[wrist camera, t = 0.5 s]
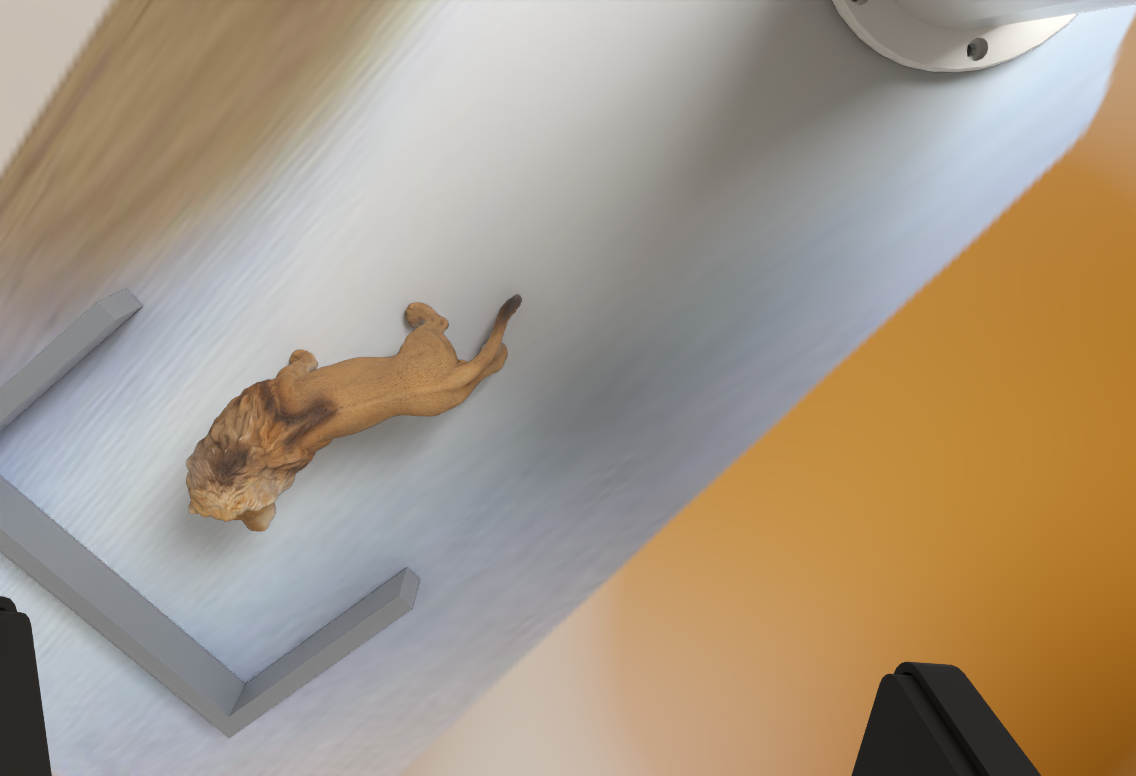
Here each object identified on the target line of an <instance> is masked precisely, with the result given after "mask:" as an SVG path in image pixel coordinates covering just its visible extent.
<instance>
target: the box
mask: <svg viewBox="0 0 1136 776" xmlns="http://www.w3.org/2000/svg"><path fill="white" fill-rule="evenodd" d="M142 306H143V305H142V304H141V303H140V302H139V301H138V300H137V299H136V298H135V297H134V296H133V295H132V294H131V293H130V292H129V291H128V290H127V289H125V290H122V291H120V292H118V293H116V294H114V295H111V296H109V297H107V298H105V299H103V300H100V301H98V302H96V303H95V304H94V305H93V306H92V307H91V308H90V309H89V310H88V311H86V312H85V313H84V314H83V315H82V316H81V317H80V318H79V319H78V320H76V321H75V322H74V323H73V324H72V325H71V326H70V327H69V328H68V329H66V330H65V331H64V332H63V333H62V334H61V335H60V336H59V337H58V338H56V339H55V340H54V341H53V342H52V343H51V344H50V345H49V346H48V347H46V348H45V349H44V350H43V351H42V352H41V353H40V354H39V355H38V356H36V357H35V358H34V359H33V360H32V361H31V362H30V363H29V364H28V365H26V366H25V367H24V368H23V369H22V370H21V371H20V372H19V373H18V374H16V375H15V376H14V377H13V378H12V379H11V380H10V381H9V382H8V383H6V384H5V385H4V386H3V387H2V388H1V389H0V432H1V431H2V430H3V429H4V428H5V427H6V426H7V425H9V424H10V423H11V422H12V421H13V420H14V419H15V418H16V417H18V416H19V415H20V414H21V413H22V412H23V411H24V410H26V409H27V408H28V407H29V406H30V405H31V404H32V403H33V402H35V401H36V400H37V399H38V398H39V397H40V396H41V395H42V394H44V393H45V392H46V391H47V390H48V389H49V388H50V387H52V386H53V385H54V384H55V383H56V382H57V381H58V380H59V379H61V378H62V377H63V376H64V375H65V374H66V373H67V372H69V371H70V370H71V369H72V368H73V367H74V366H75V365H76V364H78V363H79V362H80V361H81V360H82V359H83V358H84V357H86V356H87V355H88V354H89V353H90V352H91V351H92V350H93V349H95V348H96V347H97V346H98V345H99V344H100V343H101V342H102V341H104V340H105V339H106V338H107V337H108V336H109V335H110V334H112V333H113V332H114V331H115V330H116V329H117V328H118V327H119V326H121V325H122V324H123V323H124V322H125V321H126V320H127V319H129V318H130V317H131V316H132V315H133V314H134V313H135V312H136V311H138V310H139V309H140V308H141V307H142ZM0 552H1V553H3V554H4V555H5V556H6V557H8V558H9V559H10V560H11V561H12V562H14V563H15V564H16V565H17V566H19V567H20V568H21V569H22V570H23V571H25V572H26V573H27V574H28V575H30V576H31V577H32V578H33V579H34V580H36V581H37V582H38V583H39V584H41V585H42V586H43V587H44V588H46V589H47V590H48V591H49V592H50V593H52V594H53V595H54V596H55V597H57V598H58V599H59V600H60V601H61V602H63V603H64V604H65V605H66V606H68V607H69V608H70V609H71V610H73V611H74V612H75V613H76V614H77V615H79V616H80V617H81V618H82V619H84V620H85V621H86V622H87V623H88V624H90V625H91V626H92V627H93V628H95V629H96V630H97V631H98V632H99V633H101V634H102V635H103V636H104V637H106V638H107V639H108V640H109V641H111V642H112V643H113V644H114V645H115V646H117V647H118V648H119V649H120V650H122V651H123V652H124V653H125V654H126V655H128V656H129V657H130V658H131V659H133V660H134V661H135V662H136V663H138V664H139V665H140V666H141V667H142V668H144V669H145V670H146V671H147V672H149V673H150V674H151V675H152V676H153V677H155V678H156V679H157V680H158V681H160V682H161V683H162V684H163V685H164V686H166V687H167V688H168V689H169V690H171V691H172V692H173V693H174V694H176V695H177V696H178V697H179V698H180V699H182V700H183V701H184V702H185V703H187V704H188V705H189V706H190V707H191V708H193V709H194V710H195V711H196V712H198V713H199V714H200V715H201V716H202V717H204V718H205V719H206V720H207V721H209V722H210V723H211V724H212V725H214V726H215V727H216V728H217V729H218V730H220V731H221V732H222V733H223V734H225V735H226V736H227V737H228V738H230V737H232V736H233V735H234V734H236V733H237V732H239V731H240V730H241V729H243V728H244V727H246V726H247V725H249V724H250V723H251V722H253V721H254V720H256V719H257V718H258V717H260V716H261V715H263V714H264V713H266V712H267V711H268V710H270V709H271V708H273V707H274V706H275V705H277V704H278V703H280V702H281V701H283V700H284V699H285V698H287V697H288V696H290V695H291V694H292V693H294V692H295V691H297V690H298V689H299V688H301V687H302V686H304V685H305V684H307V683H308V682H309V681H311V680H312V679H314V678H315V677H316V676H318V675H319V674H321V673H322V672H324V671H325V670H326V669H328V668H329V667H331V666H332V665H333V664H335V663H336V662H338V661H339V660H341V659H342V658H343V657H345V656H346V655H348V654H349V653H350V652H352V651H353V650H355V649H356V648H357V647H359V646H360V645H362V644H363V643H365V642H366V641H367V640H369V639H370V638H372V637H373V636H374V635H376V634H377V633H379V632H380V631H382V630H383V629H384V628H386V627H387V626H389V625H390V624H391V623H393V622H394V621H396V620H397V619H398V618H400V617H401V616H403V615H404V614H406V613H407V612H408V611H410V610H411V609H413V605H414V601H415V597H416V594H417V590H418V586H419V582H420V579H419V578H418V577H417V576H416V575H415V574H414V573H413V572H412V571H411V570H410V569H409V568H408V567H407V568H405V569H404V570H403V571H401V572H400V573H398V574H397V575H396V576H394V577H393V578H391V579H390V580H389V581H387V582H386V583H385V584H383V585H382V586H380V587H379V588H378V589H376V590H375V591H373V592H372V593H371V594H369V595H368V596H367V597H365V598H364V599H362V600H361V601H360V602H358V603H357V604H355V605H354V606H353V607H351V608H350V609H349V610H347V611H346V612H344V613H343V614H342V615H340V616H339V617H337V618H336V619H335V620H333V621H332V622H331V623H329V624H328V625H326V626H325V627H324V628H322V629H321V630H319V631H318V632H317V633H315V634H314V635H313V636H311V637H310V638H308V639H307V640H306V641H304V642H303V643H301V644H300V645H299V646H297V647H296V648H295V649H293V650H292V651H290V652H289V653H288V654H286V655H285V656H283V657H282V658H281V659H279V660H278V661H276V662H275V663H274V664H272V665H271V666H270V667H268V668H267V669H265V670H264V671H263V672H261V673H260V674H258V675H257V676H256V677H254V678H253V679H252V680H250V681H249V682H247V683H246V684H245V683H244V682H243V681H241V680H240V679H239V678H238V677H237V676H236V675H234V674H233V673H232V672H231V671H230V670H229V669H227V668H226V667H225V666H224V665H223V664H221V663H220V662H219V661H218V660H217V659H216V658H214V657H213V656H212V655H211V654H210V653H209V652H207V651H206V650H205V649H204V648H203V647H201V646H200V645H199V644H198V643H197V642H196V641H194V640H193V639H192V638H191V637H190V636H189V635H187V634H186V633H185V632H184V631H183V630H181V629H180V628H179V627H178V626H177V625H176V624H174V623H173V622H172V621H171V620H170V619H169V618H167V617H166V616H165V615H164V614H163V613H161V612H160V611H159V610H158V609H157V608H156V607H154V606H153V605H152V604H151V603H150V602H149V601H147V600H146V599H145V598H144V597H143V596H141V595H140V594H139V593H138V592H137V591H136V590H134V589H133V588H132V587H131V586H130V585H129V584H127V583H126V582H125V581H124V580H123V579H121V578H120V577H119V576H118V575H117V574H116V573H114V572H113V571H112V570H111V569H110V568H109V567H107V566H106V565H105V564H104V563H103V562H101V561H100V560H99V559H98V558H97V557H96V556H94V555H93V554H92V553H91V552H90V551H88V550H87V549H86V548H85V547H84V546H83V545H81V544H80V543H79V542H78V541H77V540H76V539H74V538H73V537H72V536H71V535H70V534H68V533H67V532H66V531H65V530H64V529H63V528H61V527H60V526H59V525H58V524H57V523H56V522H54V521H53V520H52V519H51V518H50V517H48V516H47V515H46V514H45V513H44V512H43V511H41V510H40V509H39V508H38V507H37V506H36V505H34V504H33V503H32V502H31V501H30V500H28V499H27V498H26V497H25V496H24V495H23V494H21V493H20V492H19V491H18V490H17V489H16V488H14V487H13V486H12V485H11V484H10V483H8V482H7V481H6V480H5V479H4V478H3V477H1V476H0Z"/></svg>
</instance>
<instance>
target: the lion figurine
mask: <svg viewBox="0 0 1136 776" xmlns="http://www.w3.org/2000/svg"><path fill="white" fill-rule="evenodd" d="M521 301H522V298H521V296H520V295H519V294H516V295H515V296H513V297H512V298H510V299H509V300H507V301H506V303H505V304H504V305H503V306H502V307H501V309H500V311H499V314H498V317H497V319H496V322H495V325H494V328H493V331H492V334H491V336H490V338H489V339H488V341H487V343H486V344H484V345H483V346H482V347H481V350H480V353H479V354H478V355H477V356H476V357H475V358H474V359H473V360H471V361H470V362H466V361H465V360H458V358H457V355H456V352H455V350H454V348H453V346H452V345H451V343H450V341H449V340H448V339H447V338H446V336H445V335H444V331H445V330H446V329H447V328H448V326H449V324H448V321H447V320H446V319H445V318H443V317H441V316H440V315H438V314H437V313H436V312H435V311H434V310H433V309H432V308H431V307H429V306H428V305H426V304H423V303H412V304H410V305H409V306H408V307H407V309H406V311H405V313H406V319H407V321H408V323H409V325H410V326H411V327H415V328H417V329H415V330H414V331H412V332H411V333H410V334H409V335H408V336H407V337H406V339H405V342H404V344H403V345H402V346H401V348H400V350H399V353H398V354H397V355H395V356H392V357H359V358H353V359H349V360H345V361H342V362H339V363H336V364H333V365H330V366H325V367H322V368H319V369H317V370H316V368H317V366H318V362H317V361H316V359H315V356H314V355H313V354H311V353H309V352H307V351H305V350H297V351H294V352H293V354H292V356H291V357H290V365H288V366H286V367H284V368H283V369H281V370H280V371H279V373H278V375H277V377H276V378H275V379H273V380H265V381H262V382H257V383H255V384H254V385H252V386H250V387H249V388H246V389H244V390H243V392H242V394H241V395H240V396H238V397H235V398H234V399H232V400H231V401H230V402H229V404H228V405H227V407H226V408H225V409H224V410H223V411H222V413H221V414H220V416H218V417H217V418H216V419H215V420H214V423H213V424H212V426H211V428H210V431H209V433H208V435H207V436H206V437H205V438H204V439H202V440H200V441H199V443H198V444H197V446H196V448H195V451H194V453H193V454H192V455H191V456H190V457H189V458H188V459H187V462H186V466H187V468H188V471H189V472H188V474H187V477H186V484H187V486H188V490H189V494H190V498H191V502H190V504H189V513H190V514H199V513H200V515H201V516H203V517H209V516H212V517H213V518H215V519H217V520H223V521H230V520H242V521H243V522H244V524H245V525H246V526H247V528H248V529H250V530H252V531H264V530H266V529H267V528H268V527H269V523H270V521H271V520H272V519H273V518H274V516H275V513H276V507H275V504H274V502H275V501H276V499H277V496H278V495H280V494H281V492H283V491H285V490H287V489H288V488H289V487H290V486H292V484H293V482H294V477H295V474H296V473H297V472H298V471H300V470H302V469H303V468H305V467H306V466H307V465H308V463H309V462H310V461H311V460H312V458H313V456H314V454H315V452H316V451H317V450H319V449H321V448H323V447H325V446H327V445H328V444H329V443H331V441H332V440H333V439H334V438H338V437H342V436H347V435H351V434H354V433H357V432H359V431H362V430H364V429H367V428H369V427H372V426H374V425H376V424H378V423H380V422H382V421H384V420H386V419H388V418H390V417H393V416H398V415H411V416H435V415H439V414H441V413H443V412H445V411H447V410H450V409H452V408H454V407H456V406H457V405H459V404H461V403H462V402H463V401H464V400H465V399H466V398H467V397H468V396H469V395H470V393H471V392H472V390H473V389H474V388H475V387H476V386H477V385H478V383H479V382H480V381H481V380H482V379H484V378H485V377H487V376H489V375H491V374H493V373H496V372H498V371H499V370H500V369H501V368H502V367H503V365H504V362H505V360H506V358H507V354H508V353H507V349H506V346H505V345H504V344H503V343H502V342H501V341H502V337H503V334H504V331H505V328H506V325H507V322H508V320H509V318H510V317H511V315H512V314H514V313H515V312H516V309H517V308H518V307H519V306H520V304H521Z"/></svg>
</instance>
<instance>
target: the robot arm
mask: <svg viewBox="0 0 1136 776" xmlns="http://www.w3.org/2000/svg"><path fill="white" fill-rule="evenodd" d="M832 1H833V3H834V5H835V7H836V9H837V11H838V13H839V14H840V16H841V17H842V18H843V20H844V21H845V22H846V23H847V24H848V26H849V27H850V28H851V29H852V30H853V32H854V33H855V34H856V35H857V37H858V38H860V39H861V40H862V41H864V42H865V43H866V44H867V45H869V46H870V47H871V48H872V49H874V50H875V51H876V52H878V53H879V54H880V55H883V56H885V57H887V58H889V59H891V60H893V61H895V62H897V63H899V64H902V65H904V66H908V67H912V68H917V69H921V70H926V71H930V72H962V71H973V70H980V69H984V68H988V67H991V66H994V65H998V64H1001V63H1004V62H1008V61H1011V60H1013V59H1015V58H1017V57H1019V56H1021V55H1023V54H1025V53H1027V52H1029V51H1031V50H1033V49H1035V48H1037V47H1039V46H1040V45H1042V44H1043V43H1044V42H1046V41H1047V40H1048V39H1050V38H1051V37H1053V36H1054V35H1055V34H1057V33H1058V32H1059V31H1061V30H1062V29H1063V28H1065V27H1066V26H1067V25H1068V24H1069V23H1070V22H1071V21H1072V20H1073V19H1074V18H1075V17H1076V16H1077V15H1078V14H1079V13H1083V12H1089V11H1096V10H1102V9H1108V8H1115V7H1121V6H1127V5H1134V4H1136V0H856V1H855V2H853V1H851V0H832ZM968 44H969V45H970V46H971V49H972V50H971V54H970V55H969V56H967V47H968ZM0 776H52V775H51V767H50V760H49V753H48V745H47V738H46V731H45V723H44V716H43V709H42V701H41V694H40V687H39V679H38V672H37V665H36V657H35V650H34V643H33V635H32V628H31V623H30V619H29V617H28V616H27V615H26V614H24V613H21V612H17V610H16V606H15V604H14V603H13V602H12V600H11V599H9V598H6V597H1V596H0ZM852 776H1041V775H1040V773H1039V772H1038V771H1037V769H1036V768H1035V767H1034V766H1033V764H1032V763H1031V761H1030V760H1029V759H1028V757H1027V756H1026V755H1025V754H1024V752H1023V751H1022V750H1021V748H1020V747H1019V746H1018V744H1017V743H1016V742H1015V740H1014V739H1013V738H1012V736H1011V735H1010V734H1009V732H1008V731H1007V730H1006V728H1005V727H1004V726H1003V724H1002V723H1001V722H1000V720H999V719H998V718H997V716H996V715H995V714H994V712H993V711H992V710H991V708H990V707H989V706H988V704H987V703H986V702H985V700H984V699H983V698H982V696H981V695H980V694H979V693H978V691H977V690H976V688H975V687H974V686H973V684H972V683H971V682H970V680H969V679H968V678H967V677H966V675H965V674H964V673H963V672H962V671H961V670H960V669H959V668H958V667H955V666H953V665H945V664H931V663H916V662H904V663H901V664H900V665H899V666H898V667H897V668H896V670H895V672H894V674H887V675H885V676H884V677H883V678H882V680H881V682H880V685H879V688H878V691H877V694H876V698H875V701H874V704H873V707H872V711H871V714H870V717H869V721H868V724H867V727H866V730H865V734H864V737H863V740H862V743H861V747H860V750H859V753H858V756H857V760H856V763H855V766H854V770H853V773H852Z"/></svg>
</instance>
